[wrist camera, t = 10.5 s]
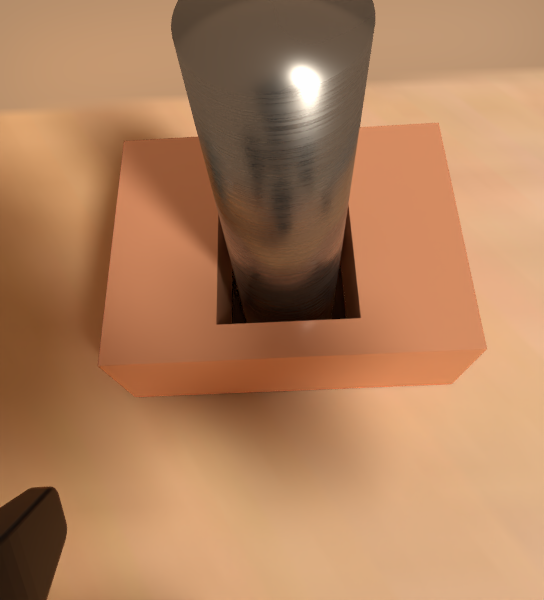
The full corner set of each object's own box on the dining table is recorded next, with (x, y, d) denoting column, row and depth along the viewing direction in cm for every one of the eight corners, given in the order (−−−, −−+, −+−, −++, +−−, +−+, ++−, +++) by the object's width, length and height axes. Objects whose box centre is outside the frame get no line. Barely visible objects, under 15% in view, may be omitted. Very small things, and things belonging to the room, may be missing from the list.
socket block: (451, 384, 19) (486, 348, 16) (135, 397, 20) (97, 366, 16) (416, 187, 23) (438, 122, 19) (151, 202, 23) (123, 140, 20)
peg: (320, 358, 20) (349, 109, 8) (232, 336, 21) (140, 72, 9) (341, 278, 21) (393, -36, 9) (258, 259, 22) (209, -60, 10)
